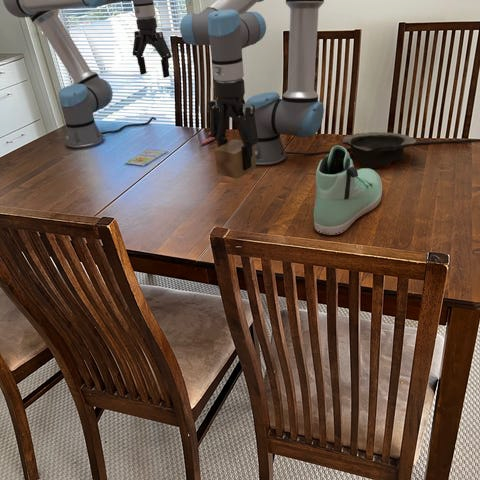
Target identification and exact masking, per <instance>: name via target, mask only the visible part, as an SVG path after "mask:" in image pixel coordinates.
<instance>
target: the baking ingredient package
mask: <svg viewBox="0 0 480 480" xmlns="http://www.w3.org/2000/svg"><path fill="white" fill-rule="evenodd" d="M165 153H166V151H162V150H155V149H146V150H145V151H143V152H141V153H139V154H138V155H136V156H134V157H132V158H131V159H129V160H126V161H125V162H124V163H125V164H130V165H137V166H145V165H147V164H149V163H151V162H152V161H154V160H155V159H157V158H159V157H160V156H162V155H163V154H165Z"/></svg>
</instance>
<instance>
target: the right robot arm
mask: <svg viewBox="0 0 480 480" xmlns="http://www.w3.org/2000/svg"><path fill="white" fill-rule="evenodd" d="M263 1H265V0H214V1H213V2H212V3H210V4H209V5H208V6H206V7H205V8H204V9H203V10H201V11H200V12H199V13H194V12H193V13H191V14H189V13H188V14H185V15H184V16H182V18H181V21H180V23H179V31H180V32H179V33H180V36H181V39H182V40H183V42H184V43H186V44H187V45H191V46H192V45H193V46H197V47H198V46H210V47H209V49H210V55H211V66H212V76H213V80H215V81H214V83H213V88H214V96H215V97H216V98H215V99H212V100H210V101H208V102H207V104H208V109H209V117H210V118H209V122H210V123H209V125H210V126H209V127H210V128H209V129H210V131H209V132H211V136H210V138H211V137H212V138H213V137H214V138H216V139H215V140H216V143H217V148H218V147H220V146H222V145H224V144H226V143H228V142H229V141H228V138H227V135H226V134H227V129H228V124H229V121H230V119H231V118H232V120H233V122H234V123H235V125H236V127H237V130H238V134H239V136H240V140H241V141H242V142H243V144H244V146H242V147H241V148H242V160H243V170H247V169H249V168H250V167H252V166H251V157H252V155H253V153H252V146H253V145H254V146H255V162H256V168H257V167H258V168H259V167H260V168H266V167H274V166H277V165H280V164H282V163H284V162H285V161H286V159H287V155H300V156H311V155H313V156H314V155H321V154H322V155H323V154H330V152H331V150H323V151H316V152H298V151H296V152H295V151H286V150H285V147H284V144H283V141H282V139H281V135H284V136H294V137H299V138H311V137H314V136H315V135H316V134H317V133H318V131H319V130H320V128H321V125H322V123H323V119H324V114H325V108H324V104H323V102H322V101H319V94H318V93H317V91H315V82H316V81H315V79H316V78H315V77H316V59H317V44H318V42H317V41H318V26H319V25H318V24H319V10H320V8H321V7H322V6H323V4H325V0H285V4H286V5H287V7H288V8H289V9H290V11H289V12H290V13H289V39H288V43H289V44H288V68H287V70H288V71H287V90H286V91H285V92H284V93H283V94H282V98H281V96H280V94H279V93H278V92H273V91H272V92H264V93H258V94H255V95H253V96H251V97H249V98H248V99H246V101H245V94H246V89H245V80H244V79H243V78H244V77H245V73H244V61H243V49H245V48H247V47H249V46H253V45H256V44H257V43H258V42H260V41H262V39H263V38H264V37H265V34H266V33H267V23H266V20H265V18H264V17H263V16H262V14H261V13H259V12H257V11H255V10H253V11H249V10H250V9H251V8H252V7H253V6H254V5H256V4H257V3H261V2H263ZM416 142H417V143H415V144H414V145H431V144H449V143H450V144H451V143H468V142H480V138H476V139H475V138H473V139H456V140H455V139H454V140H436V141H420V142H419V141H416ZM345 149H346V150H347V151H351V147H348V148H345Z"/></svg>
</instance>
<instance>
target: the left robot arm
mask: <svg viewBox="0 0 480 480" xmlns="http://www.w3.org/2000/svg"><path fill="white" fill-rule="evenodd" d="M2 2H3V5H4V8H5V9H6V10H7V11H8V12H9V13H10V14H11V15H12V16H14V17H16V18H19V19H21V18H24V19H25V18H29V19H30V20H31V22H32V24H33V25H34V26H38V27H39V28H40V29H41V31H42V32H43V34H44V36H45V37H46V39H47V41H48V42H49V44H50V46H51V47H52V49H53V50H54V52H55V54H56V55H57V57H58V59H59V60H60V62H61V63H62V64H63V66H64V68H65V69H66V71H67V72H68V74H69V76H70V77H71V79H72V80H73V83H72V84H70V85H66V86H65V87H62V88H61V89H60V90H59V91H58V100H59V105H60V108H61V113H62V116H63V119H64V123H65V126H66V133H65V144H66V148H68V149H70V150H85V149H92V148H94V147H97V146H99V145H102V143H104V135H107V134H117V133H119V132H121V131H123V129H125V128H130V127H142V126H143V127H144V126H147V125H149V124H151V122H152V121H153V120H154V121H157V118H156V117H154V116H152V117H150V119H149V120H148V121H146V122H143V123H130V124H125V125H122V126H121V127H120V128H117V129H116V130H106V131H101V130H100V129H99V127H98V125H97V124H96V121H95V117H94V114H95V113H96V112H98V111H100V110H102V109H104V108H106V107H107V106H108V105H110V103H111V102H112V101H113V95H114V94H113V88H112V86H111V84H110V83H109V82H108V81H107V79H104V78H102V77H101V78H100V76H99V74H98V73H97V72H96V71H92V70H91V68H90V66H89V65H88V63H87V61H86V59H85V58H84V57H83V55H82V53H81V51H80V50H79V48H78V46H77V45H76V43H75V42H74V40H73V38H72V37H71V35H70V34H69V32H68V31H67V29H66V27H65V25H64V24H63V22H62V20H61V19H60V17H59V13H60V10H68V9H80V8H86V7H87V8H90V7H91V8H99V7H103V6H106V5H111V4H116V3H121V2H132V3H133V9H134V15H135V18H136V22H135V23H136V28H137V30H135V31H134V33H133V35H134V36H133V37H134V39H133V46H132V56H133V57H135V58H136V60H137V66H138V68H139V75H141V76H142V75H146V74H147V73H148V72H147V66H146V61H145V56H144V52H145V50H146V47H147V45H150V46H152V47H154V50H156V52H157V53H158V55H159V57H160V58H161V59H160V63H161V71H162V77H163V79H165V78H169V77H170V76H171V75H170V63H169V60H170V59H171V58H172V57H173V55H172V53H171V51H170V48H169V46H168V44H167V42H166V40H165V38H164V37H165V36H164V33H163V31H157V28H158V22H157V18H156V17H155V16H156V15H157V14H156V8H155V3H154V0H2Z"/></svg>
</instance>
